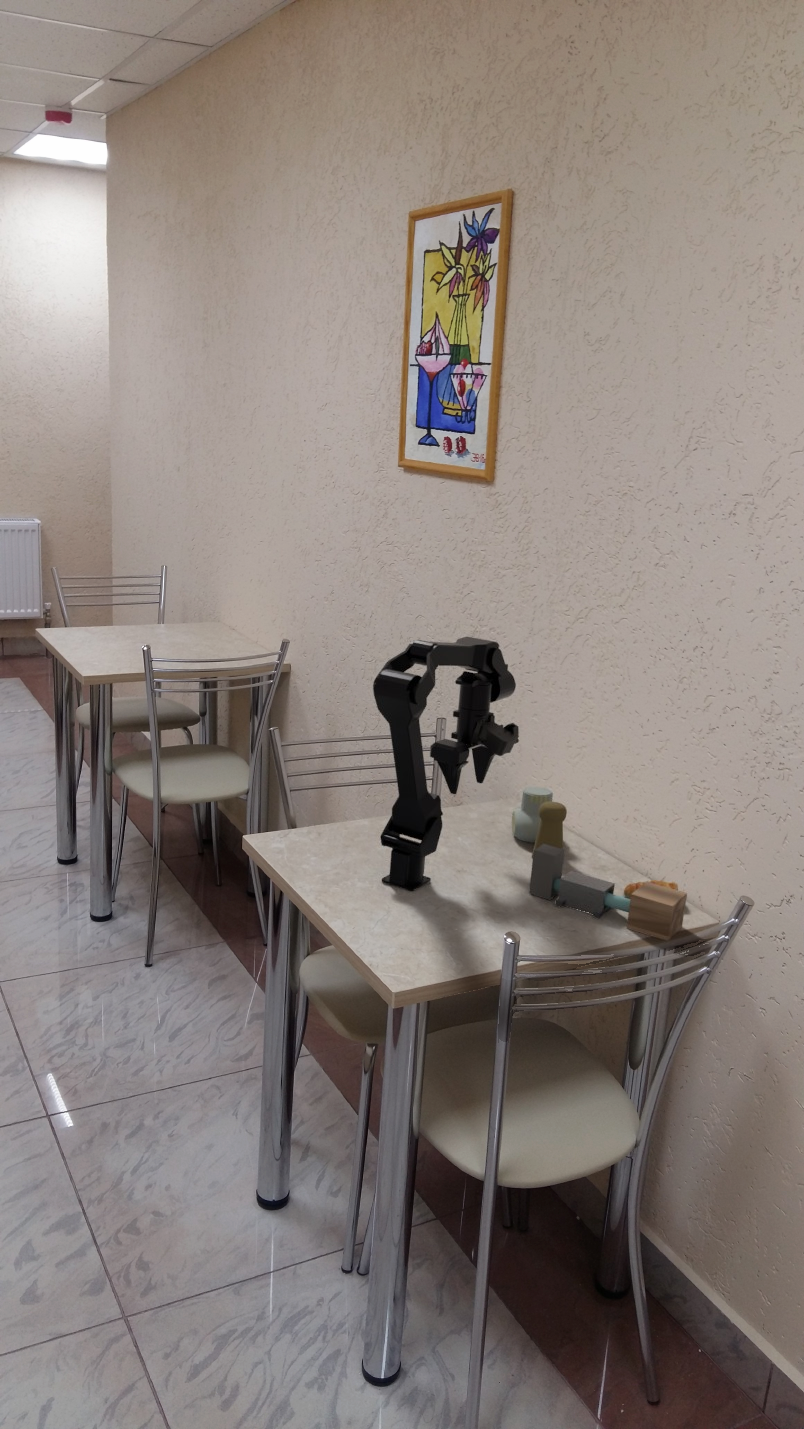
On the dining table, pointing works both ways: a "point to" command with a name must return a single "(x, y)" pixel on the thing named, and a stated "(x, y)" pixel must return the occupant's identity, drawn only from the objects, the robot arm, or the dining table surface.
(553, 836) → the cork
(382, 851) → the dining table surface
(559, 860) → the tube
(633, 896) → the socket block
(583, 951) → the dining table surface
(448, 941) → the dining table surface
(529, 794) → the air freshener
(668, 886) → the pastry
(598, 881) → the sleeve
